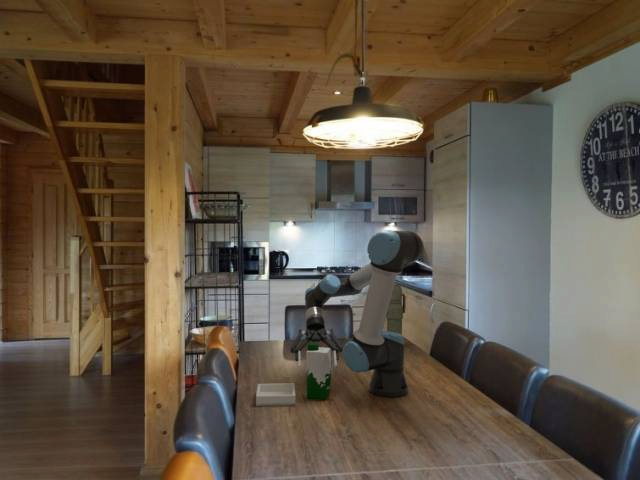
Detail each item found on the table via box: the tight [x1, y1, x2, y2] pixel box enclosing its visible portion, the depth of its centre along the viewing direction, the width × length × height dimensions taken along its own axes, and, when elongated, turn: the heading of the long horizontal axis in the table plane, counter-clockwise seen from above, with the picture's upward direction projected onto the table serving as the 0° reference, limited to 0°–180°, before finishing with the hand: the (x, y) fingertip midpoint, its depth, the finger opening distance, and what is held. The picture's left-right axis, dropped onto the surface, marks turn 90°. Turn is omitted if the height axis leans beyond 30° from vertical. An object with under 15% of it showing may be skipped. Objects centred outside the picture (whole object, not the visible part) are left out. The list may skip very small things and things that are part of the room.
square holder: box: [255, 382, 296, 407], centre depth 171 cm, size 14×14×4 cm
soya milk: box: [305, 342, 332, 402], centre depth 174 cm, size 9×9×20 cm
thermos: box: [386, 284, 407, 336], centre depth 245 cm, size 9×12×35 cm
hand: (317, 368), depth 173 cm, fingers open, 13 cm apart
